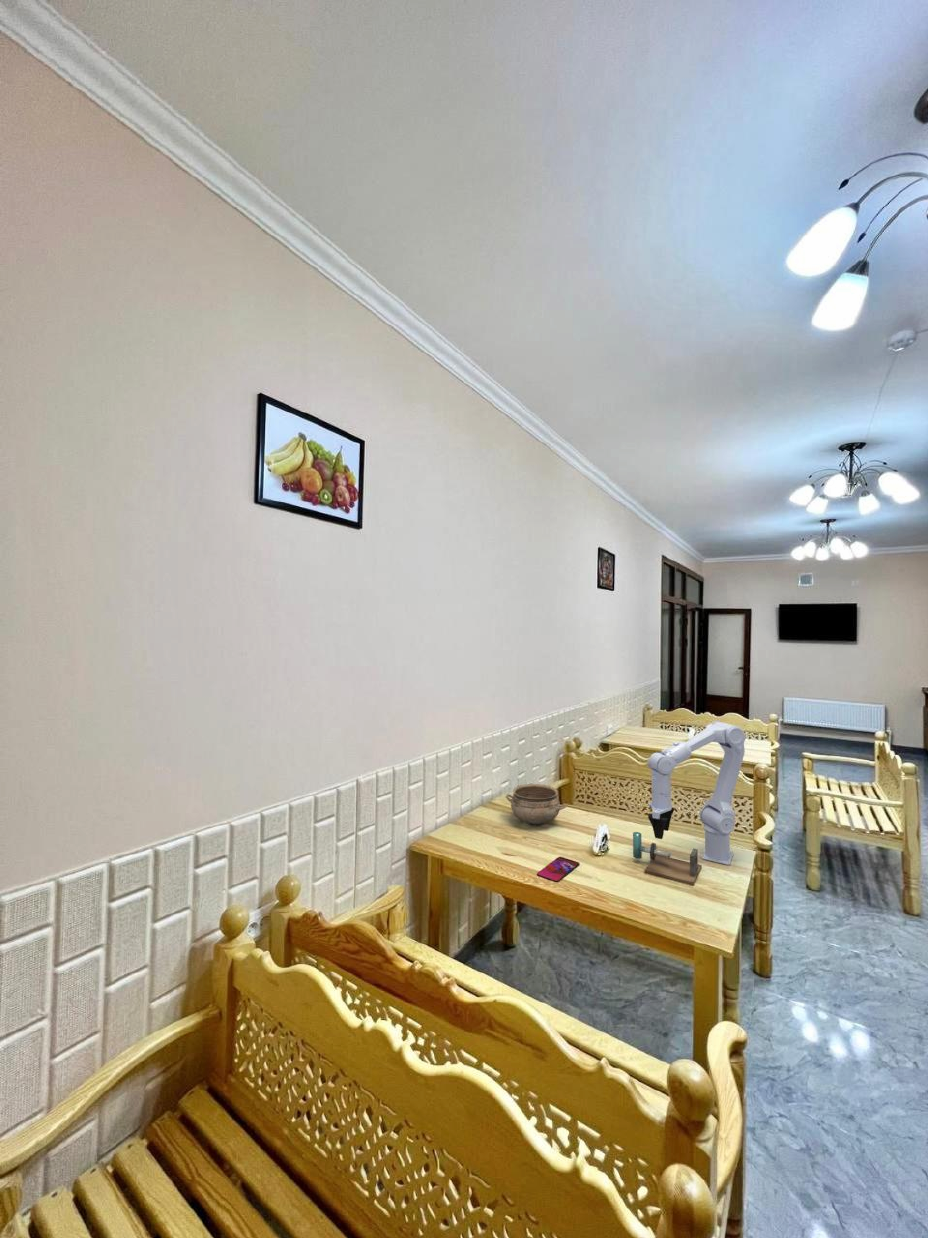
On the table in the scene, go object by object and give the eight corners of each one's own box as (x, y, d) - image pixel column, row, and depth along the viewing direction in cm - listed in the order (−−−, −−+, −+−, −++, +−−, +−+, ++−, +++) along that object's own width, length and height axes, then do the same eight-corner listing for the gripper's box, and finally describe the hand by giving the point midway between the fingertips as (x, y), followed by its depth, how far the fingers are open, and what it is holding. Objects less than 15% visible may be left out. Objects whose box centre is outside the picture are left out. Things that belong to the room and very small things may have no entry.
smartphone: (535, 874, 156) (559, 855, 167) (535, 876, 156) (559, 858, 167) (557, 881, 151) (580, 862, 162) (557, 884, 151) (580, 865, 162)
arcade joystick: (635, 853, 167) (635, 830, 167) (671, 862, 160) (671, 838, 160) (631, 859, 162) (630, 835, 162) (668, 868, 156) (667, 843, 156)
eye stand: (655, 857, 167) (655, 835, 167) (701, 868, 159) (701, 845, 159) (644, 873, 156) (644, 849, 156) (693, 886, 148) (693, 861, 148)
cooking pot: (574, 820, 198) (574, 789, 199) (557, 838, 182) (557, 804, 182) (516, 809, 211) (516, 779, 211) (495, 824, 195) (495, 793, 195)
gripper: (654, 783, 171) (654, 824, 171) (642, 795, 159) (642, 839, 159) (676, 787, 167) (676, 828, 167) (665, 800, 155) (666, 844, 155)
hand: (661, 834), depth 162 cm, fingers open, 7 cm apart
